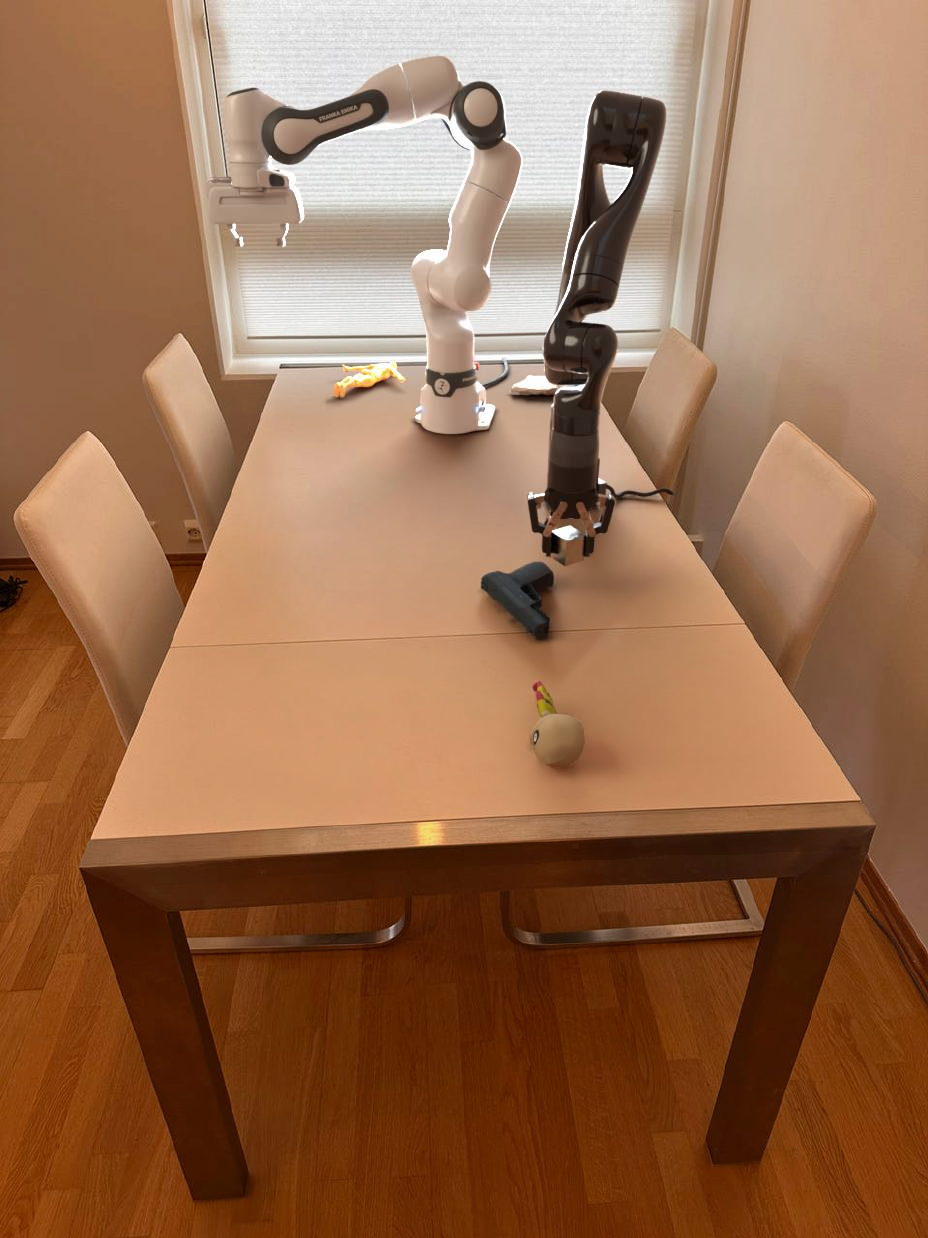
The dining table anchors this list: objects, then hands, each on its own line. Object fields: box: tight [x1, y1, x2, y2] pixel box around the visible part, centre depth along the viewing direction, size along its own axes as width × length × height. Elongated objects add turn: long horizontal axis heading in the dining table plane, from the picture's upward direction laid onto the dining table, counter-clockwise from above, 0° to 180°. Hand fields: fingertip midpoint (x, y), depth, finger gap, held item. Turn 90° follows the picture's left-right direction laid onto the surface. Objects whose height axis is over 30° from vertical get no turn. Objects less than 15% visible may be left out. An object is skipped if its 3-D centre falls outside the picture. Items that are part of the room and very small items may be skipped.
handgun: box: [480, 561, 555, 640], centre depth 143 cm, size 3×18×12 cm
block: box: [550, 525, 587, 568], centre depth 144 cm, size 4×4×5 cm
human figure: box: [333, 361, 408, 398], centre depth 242 cm, size 20×20×4 cm
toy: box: [529, 680, 586, 769], centre depth 115 cm, size 6×7×15 cm
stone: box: [509, 375, 560, 396], centre depth 238 cm, size 13×12×2 cm
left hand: (260, 245), depth 197 cm, fingers open, 8 cm apart
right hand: (567, 554), depth 145 cm, fingers closed on block, 5 cm apart
